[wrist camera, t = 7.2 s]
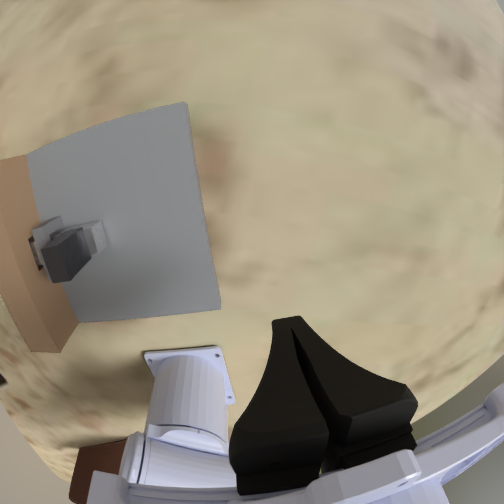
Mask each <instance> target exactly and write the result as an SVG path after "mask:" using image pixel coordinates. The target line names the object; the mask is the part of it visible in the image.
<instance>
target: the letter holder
mask: <svg viewBox="0 0 504 504" xmlns="http://www.w3.org/2000/svg"><path fill="white" fill-rule="evenodd" d="M126 442H127V439H126V440H122V441H117V442H112V443H107V444H101V445H95V446H90V447H83V448H80V449H79V452H78V457H77V460H76V464H75V468H74V472H73V476H72V481H71V486H70V492H69V499H70V500H71V501H72V502H74V503H76V504H87V499H88V494H89V489H90V484H91V480H92V475H93V471H95V470H96V471H101V472H105V473H111V474H116V475H119V470H120V465H121V460H122V456H123V452H124V448H125V445H126Z"/></svg>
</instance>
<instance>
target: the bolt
mask: <svg viewBox="0 0 504 504" xmlns="http://www.w3.org/2000/svg"><path fill="white" fill-rule="evenodd" d="M49 236H50V239H51V242H49V243H48V244H47V245H45V246H44V247H43V248H41V249H40V250H41V253H42V256H43V259H44V262H45V264H46V267H47V270H48V272H49V275H50V278H51V280H52V283H60V282H67V281H71V280H72V279H73V278H74V277H75V275H76V274H77V273H78V272H79V271H80V270H81V269H82V268H83V267H84V266H85V265H86V264H87V263H88V262H89V261H90V260H91V259H92V257H91V256H92V255H97V254H99V253H100V252H101V251H102V250H103V249H104V248H105V247H106V246H107V245H108V244H107V240H106V237H105V233H104V230H103V226H102V222H101V220H100V221H95V222H91V223H87V224H83V225H78V226H74V227H70V228H66V229H62V230H58V231H55V232H52V233H51V234H49ZM28 241H29V244H30V247H31V250H32V253H33V256H34V259H35V262H36V264H37V266H38V265H43V264H42V261H41V258H40V255H39V252H38V249H37V246H36V243H35V240H34V237H32V238H29V239H28Z"/></svg>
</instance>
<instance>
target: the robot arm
mask: <svg viewBox="0 0 504 504" xmlns="http://www.w3.org/2000/svg"><path fill="white" fill-rule="evenodd" d="M272 331H273V335H272V343H271V350H270V354H269V358H268V362H267V365H266V368H265V371H264V374H263V377H262V379H261V381H260V384H259V386H258V388H257V390H256V392H255V394H254V396H253V398H252V400H251V401H250V403H249V405H248V406H247V408H246V410H245V411H244V412H243V414H242V415H241V417H240V418H239V419H238V421H237V422H236V423H235V425H234V428H233V431H232V435H231V438H230V443H228V419H227V405H232V404H234V403H235V397H234V394H233V390H232V387H231V383H230V380H229V376H228V373H227V369H226V365H225V362H224V358H223V354H222V350H221V348H220V347H218V346H211V347H201V348H191V349H179V350H166V351H150V352H145V354H144V358H145V360H146V362H147V364H148V366H149V368H150V370H151V372H152V374H153V376H154V378H155V381H154V386H153V390H152V395H151V400H150V404H149V409H148V414H147V419H146V425H145V430H144V433H141V432H138V431H137V432H135V433H134V434H131V435H129V437H128V439H127V442H126V445H125V448H124V452H123V456H122V460H121V465H120V470H119V475H116V474H111V473H105V472H101V471H96V470H95V471H93V475H92V480H91V484H90V489H89V494H88V499H87V504H449V502H448V499H447V497H446V495H445V493H444V490H443V488H442V485H443V484H445V483H447V482H448V481H450V480H451V479H453V478H454V477H456V476H457V475H459V474H460V473H462V472H463V471H464V470H466V469H468V468H469V467H470V466H472V465H473V464H475V463H476V462H477V461H479V460H480V459H481V458H482V457H484V456H485V455H486V454H488V453H489V452H490V451H491V450H493V449H494V448H495V447H496V446H498V445H499V444H500V443H501V442H502V441H503V440H504V383H502V384H501V385H499V386H498V387H497V388H495V389H494V390H493V391H492V392H490V394H489V395H488V396H487V397H486V399H485V401H484V403H482V404H481V405H480V406H478V407H476V408H475V409H473V410H472V411H470V412H469V413H467V414H465V415H464V416H462V417H460V418H459V419H457V420H455V421H454V422H452V423H450V424H448V425H447V426H445V427H443V428H441V429H439V430H437V431H435V432H433V433H431V434H429V435H428V436H425V437H423V438H422V439H419V440H417V441H415V440H414V438H413V436H412V434H411V432H412V426H411V425H410V421H411V419H412V417H413V416H414V414H415V412H416V410H417V407H418V401H417V400H416V398H415V396H414V395H413V393H412V392H411V391H410V389H409V388H408V387H407V386H406V384H402V383H399V382H396V381H392V380H389V379H386V378H384V377H381V376H379V375H376V374H374V373H372V372H370V371H368V370H366V369H364V368H362V367H360V366H358V365H356V364H355V363H353V362H351V361H350V360H348V359H347V358H345V357H344V356H342V355H341V354H340V353H338V352H337V351H336V350H335V349H333V348H332V347H331V346H330V345H328V344H327V343H326V342H325V341H324V340H323V339H322V338H321V337H320V336H319V335H318V334H317V333H316V332H315V331H314V330H313V329H312V328H311V327H310V326H309V325H308V324H307V323H306V322H305V320H304V319H303V318H302V317H301V316H294V317H288V318H282V319H276V320H273V321H272ZM216 354H219V355H216ZM150 359H151V360H150ZM320 468H321V472H322V474H319V472H320Z"/></svg>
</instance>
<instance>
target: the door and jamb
mask: <svg viewBox="0 0 504 504" xmlns="http://www.w3.org/2000/svg"><path fill="white" fill-rule="evenodd" d="M100 220H101V222H102V226H103V230H104V233H105V237H106V240H107V244H108V245H107V246H106V247H105V248H104V249H103V250H102V251H101V252H100V253H99V254H97V255H92V256H91V257H92V259H91V260H90V261H89V262H88V263H87V264H86V265H85V266H84V267H83V268H82V269H81V270H80V271H79V272H78V273H77V274H76V275H75V277H74V278H73V279H72V280H71V281H67V282H60V283H52V280H51V278H50V275H49V272H48V270H47V267H46V264H45V262H44V259H43V256H42V253H41V250H40V249H41V248H43V247H44V246H45V245H47V244H48V243H49V242H51V239H50V236H49V234H51V233H52V232H55V231H58V230H62V229H66V228H70V227H74V226H78V225H83V224H87V223H91V222H95V221H100ZM32 237H34V240H35V243H36V246H37V249H38V252H39V255H40V258H41V261H42V264H43V265H38V266H37V264H36V262H35V259H34V256H33V253H32V250H31V247H30V244H29V241H28V239H29V238H32ZM0 293H1V296H2V298H3V300H4V302H5V304H6V306H7V308H8V310H9V313H10V315H11V316H12V318H13V320H14V322H15V324H16V326H17V328H18V330H19V332H20V333H21V335H22V337H23V339H24V340H25V342H26V344H27V345H28V347H29V349H30V350H31V352H48V353H60V352H61V350H62V349H63V347H64V345H65V344H66V342H67V340H68V339H69V337H70V336H71V334H72V332H73V331H74V329H75V328H76V326H77V325H78V323H81V322H98V321H112V320H125V319H137V318H148V317H159V316H169V315H178V314H187V313H196V312H204V311H212V310H220V309H221V297H220V292H219V288H218V283H217V278H216V273H215V268H214V263H213V258H212V252H211V247H210V242H209V237H208V231H207V226H206V220H205V215H204V209H203V203H202V197H201V192H200V186H199V179H198V173H197V167H196V161H195V154H194V147H193V141H192V134H191V127H190V120H189V112H188V105H187V104H186V103H185V102H181V103H176V104H171V105H167V106H162V107H158V108H154V109H150V110H146V111H142V112H138V113H135V114H131V115H128V116H124V117H121V118H117V119H114V120H111V121H108V122H105V123H102V124H99V125H96V126H93V127H90V128H87V129H85V130H82V131H79V132H77V133H74V134H72V135H69V136H67V137H64V138H62V139H59V140H57V141H55V142H52V143H50V144H48V145H45V146H43V147H41V148H39V149H37V150H35V151H33V152H30V153H28V154H26V155H21V156H17V157H12V158H7V159H3V160H0Z"/></svg>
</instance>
